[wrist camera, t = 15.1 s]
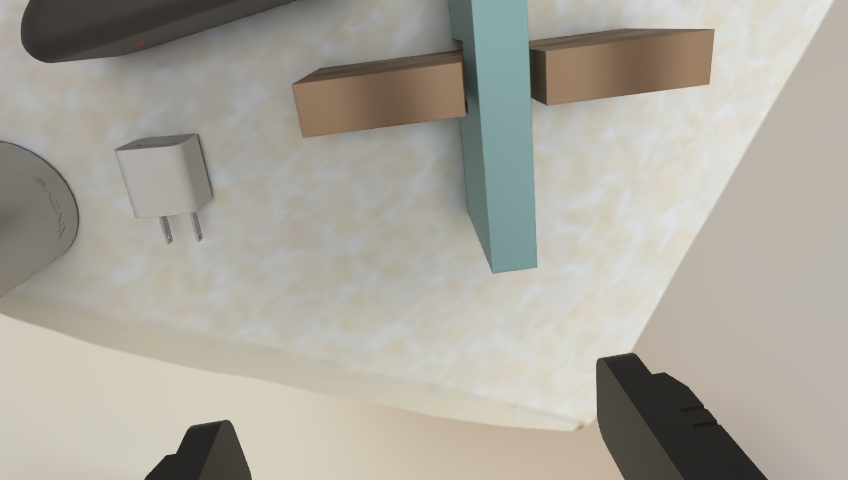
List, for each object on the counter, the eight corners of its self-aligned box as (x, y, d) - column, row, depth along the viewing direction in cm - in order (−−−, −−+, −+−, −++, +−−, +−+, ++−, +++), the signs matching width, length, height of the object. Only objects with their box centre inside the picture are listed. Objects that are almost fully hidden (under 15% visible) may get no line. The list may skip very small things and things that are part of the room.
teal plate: (468, 212, 38) (492, 273, 28) (438, -108, 30) (458, -169, 20) (502, 208, 38) (537, 267, 28) (480, -114, 30) (520, -177, 21)
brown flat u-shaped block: (327, 107, 34) (302, 137, 25) (320, 68, 33) (291, 84, 24) (624, 68, 34) (709, 84, 25) (625, 28, 33) (714, 29, 24)
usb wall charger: (200, 133, 34) (176, 145, 31) (223, 228, 37) (204, 250, 33) (140, 138, 34) (109, 151, 31) (167, 233, 37) (142, 256, 33)
